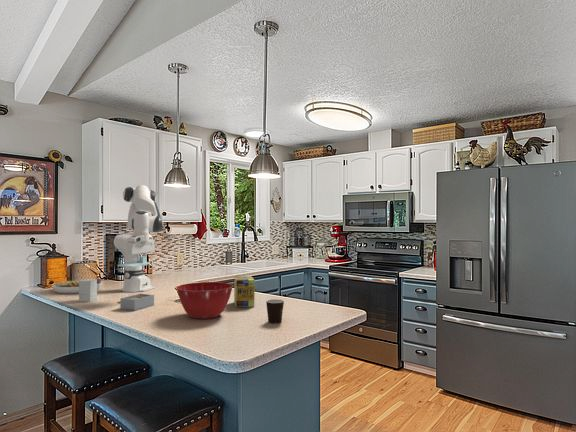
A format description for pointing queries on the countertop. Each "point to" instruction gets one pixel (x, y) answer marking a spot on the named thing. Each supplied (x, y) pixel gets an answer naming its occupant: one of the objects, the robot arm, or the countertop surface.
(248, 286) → the protein box
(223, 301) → the mixing bowl
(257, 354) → the countertop surface
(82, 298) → the supplement box
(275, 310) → the coffee mug
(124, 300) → the tub
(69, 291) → the bowl
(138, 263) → the lid
